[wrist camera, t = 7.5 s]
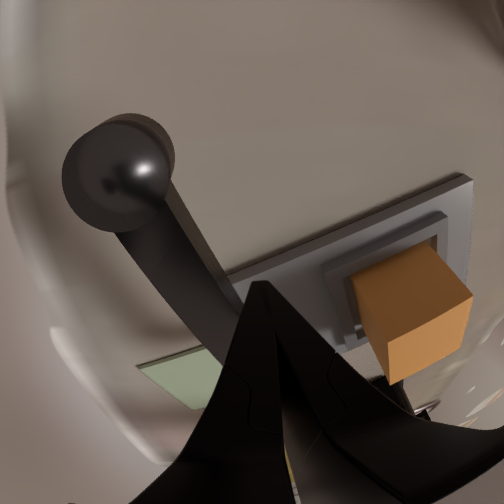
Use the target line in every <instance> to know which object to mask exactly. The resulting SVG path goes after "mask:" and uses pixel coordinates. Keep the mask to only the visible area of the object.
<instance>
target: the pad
mask: <svg viewBox="0 0 504 504" xmlns="http://www.w3.org/2000/svg"><path fill="white" fill-rule="evenodd" d="M222 367H223V366H222V365H221V364H220V363H219V362H218V361H217V360H216V359H215V357H214V356H213V355H212V354H211V353H210V352H209V351H208V350H207V349H206V348H205V346H201V347H198V348H195V349H192V350H189V351H186V352H183V353H180V354H177V355H174V356H170V357H167V358H164V359H161V360H158V361H154V362H151V363H148V364H144V365H141V366H140V370H141V371H142V372H143V373H144V374H146V375H147V376H148V377H149V378H151V379H152V380H153V381H154V382H156V383H157V384H158V385H160V386H161V387H162V388H163V389H165V390H166V391H167V392H169V393H170V394H171V395H173V396H174V397H175V398H177V399H178V400H180V401H181V402H182V403H184V404H185V405H187V406H188V407H189V408H191V409H192V410H195V409H200V408H204V407H206V406H207V404H208V402H209V400H210V398H211V396H212V394H213V391H214V389H215V386H216V384H217V381H218V379H219V376H220V373H221V370H222Z"/></svg>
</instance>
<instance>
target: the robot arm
mask: <svg viewBox="0 0 504 504" xmlns="http://www.w3.org/2000/svg"><path fill="white" fill-rule="evenodd" d="M335 352H336V350H335V349H334V348H333V347H332V346H331V345H330V344H329V343H328V342H327V341H326V340H325V339H324V338H323V337H322V336H321V335H320V334H319V333H318V332H317V331H316V329H315V328H314V327H313V326H312V325H311V324H310V323H309V322H308V321H307V320H306V319H305V318H304V317H303V316H302V315H301V314H300V313H299V312H298V311H297V310H296V309H295V308H294V307H293V306H292V304H291V303H290V302H289V301H288V300H287V299H286V298H285V297H284V296H283V295H282V294H281V293H280V292H279V291H278V290H277V289H276V288H275V287H274V286H273V285H272V284H271V283H270V281H268V280H257V281H252V282H251V284H250V287H249V290H248V293H247V296H246V299H245V302H244V305H243V308H242V311H241V314H240V317H239V320H238V323H237V326H236V329H235V332H234V335H233V338H232V341H231V344H230V347H229V350H228V353H227V356H226V359H225V362H224V365H223V367H222V370H221V373H220V376H219V379H218V381H217V384H216V386H215V389H214V391H213V394H212V396H211V398H210V400H209V402H208V404H207V406H206V408H205V410H204V412H203V414H202V415H201V417H200V419H199V421H198V423H197V425H196V427H195V428H194V430H193V432H192V434H191V436H190V438H189V439H188V441H187V443H186V445H185V446H184V448H183V450H182V451H181V453H180V454H179V455H178V457H177V458H176V460H175V461H174V462H173V463H172V464H171V465H170V466H169V467H168V468H167V469H166V470H165V471H164V472H163V473H162V474H161V475H160V476H159V477H158V478H157V479H156V480H154V481H153V482H152V483H151V484H150V485H149V486H148V487H147V488H146V489H145V490H144V491H143V492H142V493H140V494H139V495H138V496H137V497H136V498H135V499H134V500H133V501H131V502H130V503H129V504H296V501H295V497H294V492H293V488H292V484H291V479H290V475H289V470H288V466H287V462H286V457H285V449H286V452H287V456H288V459H289V463H290V467H291V470H292V474H293V477H294V481H295V484H296V488H297V491H298V495H299V498H300V501H301V504H504V425H503V426H502V427H500V428H497V429H493V430H478V429H471V428H465V427H459V426H454V425H448V424H443V423H438V422H433V421H431V419H430V417H429V415H428V413H427V411H426V409H424V410H423V411H422V412H421V413H419V414H417V415H415V413H414V410H413V408H412V406H411V404H410V402H409V399H408V397H407V395H406V393H405V391H404V389H403V379H402V380H400V381H398V382H396V383H394V384H392V385H390V384H389V382H388V380H387V378H386V377H384V378H382V379H380V380H378V381H376V382H373V383H370V382H368V381H367V380H366V379H365V378H364V377H363V376H361V375H360V374H359V373H358V372H357V371H356V370H355V369H354V368H353V367H352V366H351V365H350V364H349V363H348V362H347V361H346V360H345V359H344V358H343V357H342V356H341V355H340V354H339V353H338V352H336V353H335ZM284 445H285V449H284ZM68 504H73V503H68Z"/></svg>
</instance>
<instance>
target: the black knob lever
mask: <svg viewBox="0 0 504 504" xmlns="http://www.w3.org/2000/svg"><path fill="white" fill-rule="evenodd" d="M174 164H175V152H174V147H173V143H172V141H171V139H170V137H169V135H168V133H167V132H166V131H165V129H164V128H163V127H162V126H161V125H160V124H159V123H157V122H156V121H155V120H153V119H151V118H149V117H147V116H144V115H140V114H134V113H127V114H121V115H117V116H114V117H112V118H110V119H108V120H106V121H105V122H103V123H101V124H100V125H98V126H96V127H95V128H93V129H92V130H90V131H89V132H87V133H86V134H84V135H83V136H82V137H80V138H79V139H78V140H77V141H76V142H75V143H74V144H73V145H72V147H71V148H70V150H69V151H68V153H67V155H66V158H65V160H64V163H63V168H62V186H63V191H64V194H65V197H66V199H67V201H68V203H69V205H70V207H71V208H72V209H73V211H74V212H75V213H76V214H77V215H78V216H79V217H80V218H81V219H82V220H83V221H84V222H86V223H87V224H89V225H91V226H93V227H95V228H97V229H100V230H103V231H107V232H114V233H115V235H116V236H117V238H118V239H119V240H120V242H121V243H122V244H123V246H124V247H125V249H126V250H127V251H128V253H129V254H130V255H131V257H132V258H133V259H134V261H135V262H136V263H137V265H138V266H139V267H140V269H141V270H142V271H143V273H144V274H145V275H146V277H147V278H148V279H149V280H150V282H151V283H152V284H153V285H154V287H155V288H156V289H157V291H158V292H159V293H160V294H161V296H162V297H163V298H164V299H165V300H166V302H167V303H168V304H169V305H170V307H171V308H172V309H173V310H174V311H175V313H176V314H177V315H178V316H179V317H180V319H181V320H182V321H183V322H184V323H185V325H186V326H187V327H188V328H189V329H190V330H191V332H192V333H193V334H194V335H195V336H196V337H197V338H198V340H199V341H200V342H201V343H202V344H203V345H204V346H205V348H206V349H207V350H208V351H209V352H210V353H211V354H212V355H213V356H214V357H215V359H216V360H217V361H218V362H219V363H220V364H221V365H222V366H223V365H224V362H225V359H226V356H227V353H228V350H229V347H230V344H231V341H232V338H233V335H234V332H235V329H236V326H237V323H238V320H239V317H240V314H241V311H242V308H243V305H244V303H243V302H242V300H241V298H240V297H239V295H238V294H237V292H236V290H235V289H234V287H233V285H232V284H231V282H230V280H229V279H228V277H227V275H226V274H225V272H224V270H223V269H222V267H221V265H220V264H219V262H218V260H217V259H216V257H215V255H214V254H213V252H212V250H211V249H210V247H209V245H208V244H207V242H206V240H205V239H204V237H203V235H202V233H201V232H200V230H199V228H198V227H197V225H196V223H195V222H194V220H193V218H192V216H191V215H190V213H189V211H188V209H187V208H186V206H185V204H184V202H183V201H182V199H181V197H180V195H179V194H178V192H177V190H176V188H175V187H174V185H173V183H172V181H171V176H172V173H173V169H174Z"/></svg>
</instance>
